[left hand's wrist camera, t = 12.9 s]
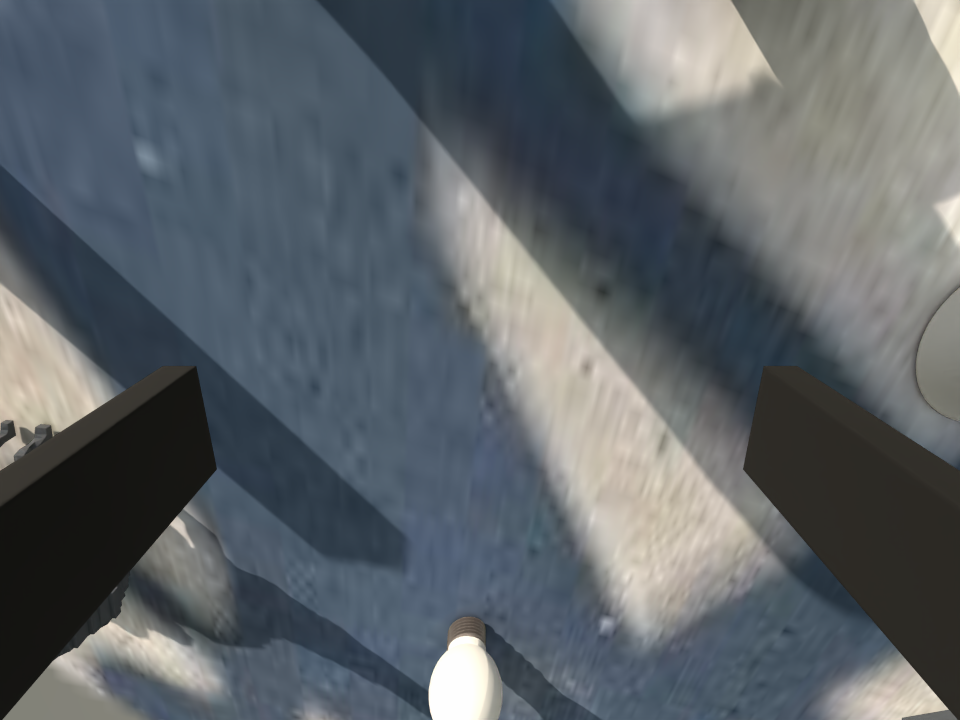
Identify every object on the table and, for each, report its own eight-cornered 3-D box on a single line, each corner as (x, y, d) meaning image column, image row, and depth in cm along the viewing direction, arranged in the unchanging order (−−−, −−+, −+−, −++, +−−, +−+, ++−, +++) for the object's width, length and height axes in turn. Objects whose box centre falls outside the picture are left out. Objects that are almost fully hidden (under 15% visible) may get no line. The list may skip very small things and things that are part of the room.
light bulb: (460, 595, 53) (456, 700, 43) (513, 626, 55) (521, 735, 44) (421, 636, 55) (408, 745, 45) (473, 665, 56) (472, 777, 46)
